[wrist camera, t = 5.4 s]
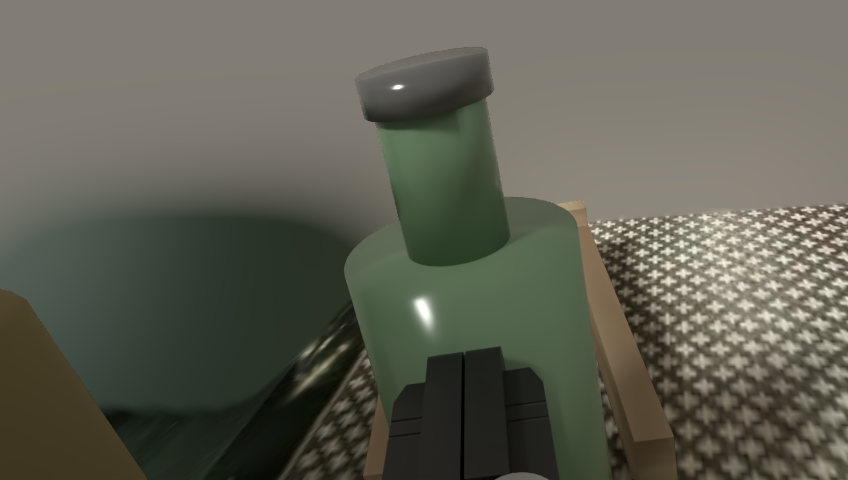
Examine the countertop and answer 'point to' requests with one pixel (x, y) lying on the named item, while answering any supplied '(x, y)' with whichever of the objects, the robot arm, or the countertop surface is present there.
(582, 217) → the u rest
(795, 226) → the countertop surface
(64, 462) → the squeeze bottle
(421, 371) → the bottle
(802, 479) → the countertop surface
